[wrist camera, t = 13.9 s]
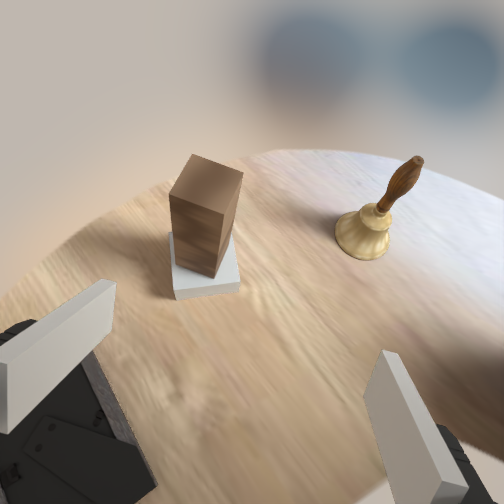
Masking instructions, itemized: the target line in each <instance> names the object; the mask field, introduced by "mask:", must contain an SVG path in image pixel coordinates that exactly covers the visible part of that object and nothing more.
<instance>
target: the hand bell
mask: <svg viewBox="0 0 504 504" xmlns="http://www.w3.org/2000/svg"><path fill="white" fill-rule="evenodd" d="M423 164H424V160H423V158H421V157H420V156H414V157H413V158H412V159H410V160H409V161H408V162H406V163H404V164H403V165H402V166H400V167H399V168H398V169H397V170H396V172H395V173H394V174H393V176H392V177H391V179H390V181H389V184H388V187H387V191H386V193H385V195H384V196H383V197H382V198H381V200H380V201H379V202H378V203H377V204H376V203H369V204H366V205H365V206H363V207H362V208H361V209H360V210H359V211H354V212H350V213H347V214H345V215H343V216H342V217H341V218H340V219H339V220H338V221H337V223H336V225H335V237H336V240H337V242H338V244H339V246H340V247H341V248H342V249H343V250H344V251H345V252H346V253H347V254H349V255H351V256H352V257H354V258H357V259H361V260H373V259H377V258H379V257H381V256H382V255H384V254H385V252H386V251H387V249H388V247H389V243H390V238H389V233H388V229H389V227H390V225H391V223H392V216H391V214H390V212H389V210H390V208H391V207H392V205H393V204H394V202H395V201H396V200H397V199H398V198H399V197H401V196H403V195H404V194H406V193H407V192H408V191H409V190H410V189H411V188H412V187H413V186H414V185H415V183H416V182H417V180H418V178H419V175H420V172H421V168H422V166H423Z"/></svg>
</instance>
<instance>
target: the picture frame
mask: <svg viewBox="0 0 504 504" xmlns="http://www.w3.org/2000/svg"><path fill="white" fill-rule="evenodd" d="M157 485H158V483H157V481H156V479H155V477H154V475H153V473H152V471H151V469H150V467H149V465H148V462H147V460H146V458H145V456H144V454H143V452H142V450H141V448H140V446H139V444H138V442H137V440H136V438H135V436H134V434H133V432H132V430H131V428H130V426H129V424H128V422H127V420H126V418H125V416H124V413H123V411H122V409H121V407H120V405H119V403H118V401H117V399H116V397H115V395H114V393H113V391H112V389H111V387H110V385H109V383H108V381H107V379H106V377H105V375H104V373H103V371H102V369H101V367H100V364H99V362H98V360H97V358H96V356H95V354H94V352H93V350H92V351H91V352H90V353H89V354H88V355H87V356H86V357H85V358H84V359H83V360H82V361H81V362H80V363H79V364H78V365H77V366H76V367H75V368H74V369H73V370H72V371H71V372H70V373H69V374H68V375H67V376H66V377H65V378H64V379H63V380H62V381H61V382H60V383H59V384H58V385H57V386H56V387H55V388H54V389H53V390H52V391H51V392H50V393H49V394H48V395H47V396H46V397H45V398H44V399H43V400H42V401H41V402H40V403H39V404H38V405H37V406H36V407H35V408H34V409H33V410H32V411H31V412H30V413H29V414H28V415H27V416H26V417H25V418H24V419H23V420H22V421H21V422H20V423H19V424H18V425H17V426H16V427H15V428H14V429H13V430H12V431H11V432H10V433H9V434H4V433H0V504H134V503H136V502H137V501H138V500H140V499H141V498H142V497H144V496H145V495H146V494H147V493H149V492H150V491H151V490H153V489H154V488H155V487H156V486H157Z"/></svg>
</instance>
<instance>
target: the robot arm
mask: <svg viewBox="0 0 504 504" xmlns="http://www.w3.org/2000/svg"><path fill="white" fill-rule="evenodd" d="M116 284H117V282H114V281H110V280H106V279H100V280H99V281H97V282H96V283H94V284H93V285H91V286H90V287H88V288H87V289H85V290H84V291H82V292H81V293H79V294H78V295H76V296H75V297H73V298H72V299H70V300H69V301H67V302H66V303H64V304H63V305H61V306H60V307H58V308H57V309H55V310H54V311H52V312H51V313H49V314H48V315H46V316H45V317H43V318H42V319H40V320H39V321H36V320H32V319H29V320H26V321H23V322H20V323H17V324H15V325H13V326H12V327H10V328H9V329H7V330H5V331H4V333H1V334H0V433H4V434H9V433H10V432H11V431H12V430H13V429H14V428H15V427H16V426H17V425H18V424H19V423H20V422H21V421H22V420H23V419H24V418H25V417H26V416H27V415H28V414H29V413H30V412H31V411H32V410H33V409H34V408H35V407H36V406H37V405H38V404H39V403H40V402H41V401H42V400H43V399H44V398H45V397H46V396H47V395H48V394H49V393H50V392H51V391H52V390H53V389H54V388H55V387H56V386H57V385H58V384H59V383H60V382H61V381H62V380H63V379H64V378H65V377H66V376H67V375H68V374H69V373H70V372H71V371H72V370H73V369H74V368H75V367H76V366H77V365H78V364H79V363H80V362H81V361H82V360H83V359H84V358H85V357H86V356H87V355H88V354H89V353H90V352H91V351H92V350H93V349H94V348H95V347H96V346H97V345H98V344H99V343H100V342H101V341H102V340H103V339H104V338H105V337H106V336H107V335H108V334H109V333H110V332H111V331H112V322H113V312H114V303H115V293H116ZM363 397H364V400H365V404H366V407H367V410H368V414H369V417H370V420H371V424H372V427H373V431H374V434H375V437H376V441H377V444H378V447H379V451H380V454H381V457H382V461H383V464H384V467H385V471H386V474H387V477H388V481H389V484H390V487H391V491H392V494H393V497H394V501H395V504H498V503H496V502H493V500H492V499H491V497H490V495H489V494H488V492H487V490H486V488H485V487H484V485H483V483H482V481H481V480H480V478H479V476H478V474H477V473H476V471H475V469H474V468H473V466H472V465H471V464H470V461H469V459H468V457H467V456H466V454H464V451H463V449H462V447H461V445H460V443H459V442H458V440H457V438H456V437H455V436H454V435H453V434H452V433H451V432H450V431H449V430H448V429H447V428H446V427H445V426H442V425H438V424H435V423H434V421H433V419H432V417H431V415H430V413H429V411H428V410H427V408H426V406H425V404H424V402H423V400H422V398H421V396H420V395H419V393H418V391H417V389H416V387H415V385H414V383H413V381H412V380H411V378H410V376H409V374H408V372H407V370H406V368H405V366H404V365H403V363H402V361H401V359H400V357H399V355H398V353H394V352H390V351H386V350H381V352H380V355H379V357H378V360H377V362H376V365H375V368H374V370H373V373H372V375H371V378H370V380H369V383H368V385H367V388H366V390H365V393H364V395H363Z"/></svg>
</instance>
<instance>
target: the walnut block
mask: <svg viewBox="0 0 504 504" xmlns="http://www.w3.org/2000/svg"><path fill="white" fill-rule="evenodd" d="M242 178H243V172H240V171H238V170H235V169H232V168H230V167H227V166H224V165H221V164H219V163H216V162H213V161H210V160H208V159H205V158H202V157H200V156H197V155H194V154H192V155H191V157H190V159H189V160H188V162H187V164H186V165H185V167H184V169H183V171H182V172H181V174H180V176H179V177H178V179H177V181H176V182H175V184H174V186H173V188H172V189H171V191H170V193H169V202H170V212H171V223H172V233H173V243H174V254H175V264H176V265H178V266H181V267H183V268H186V269H189V270H191V271H194V272H197V273H200V274H202V275H205V276H208V277H210V278H213V279H215V276H216V274H217V272H218V269H219V267H220V264H221V262H222V260H223V257H224V255H225V253H226V250H227V248H228V246H229V241H230V236H231V231H232V227H233V222H234V217H235V212H236V207H237V202H238V197H239V193H240V188H241V183H242Z"/></svg>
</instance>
